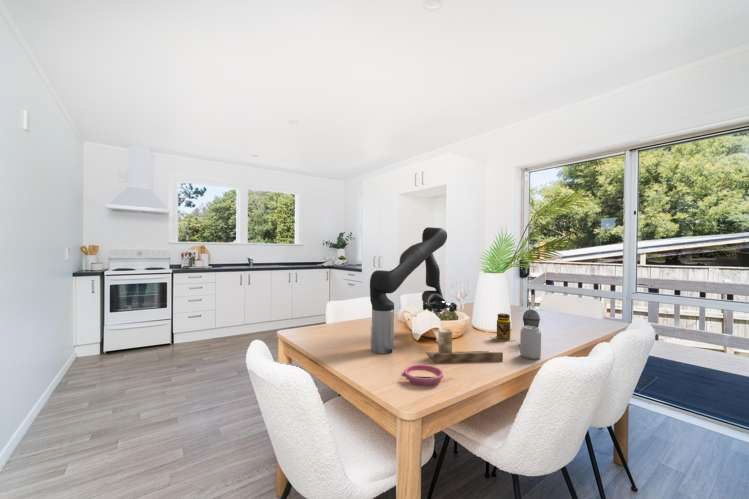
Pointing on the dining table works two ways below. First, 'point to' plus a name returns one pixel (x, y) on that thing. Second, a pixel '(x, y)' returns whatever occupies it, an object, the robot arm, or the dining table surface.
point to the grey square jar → (530, 342)
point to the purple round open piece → (423, 380)
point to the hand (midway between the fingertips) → (441, 309)
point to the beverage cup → (531, 317)
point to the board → (465, 356)
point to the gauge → (445, 341)
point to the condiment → (503, 328)
